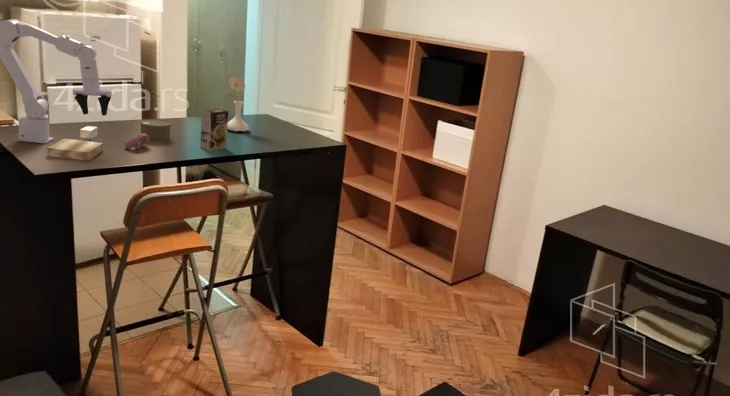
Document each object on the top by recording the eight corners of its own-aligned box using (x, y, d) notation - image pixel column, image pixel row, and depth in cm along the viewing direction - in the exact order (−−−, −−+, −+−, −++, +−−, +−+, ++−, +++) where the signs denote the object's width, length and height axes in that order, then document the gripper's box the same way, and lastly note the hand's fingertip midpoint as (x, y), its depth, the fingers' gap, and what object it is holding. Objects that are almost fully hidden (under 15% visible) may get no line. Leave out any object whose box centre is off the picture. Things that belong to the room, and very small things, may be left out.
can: (175, 141, 246) (176, 125, 244) (148, 143, 238) (149, 126, 236) (161, 134, 254) (161, 118, 252) (134, 135, 245) (135, 119, 243)
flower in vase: (253, 132, 281) (258, 80, 273) (236, 134, 271) (240, 80, 263) (234, 125, 287) (237, 75, 279) (217, 128, 278) (220, 75, 270)
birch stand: (47, 156, 204) (47, 147, 203) (64, 146, 218) (64, 138, 217) (89, 160, 206) (88, 152, 205) (103, 150, 219) (103, 143, 218)
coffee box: (210, 151, 239) (212, 112, 233) (199, 147, 242) (201, 109, 236) (226, 148, 246) (229, 110, 241) (215, 144, 249) (218, 107, 244)
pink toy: (132, 154, 225) (139, 140, 223) (122, 147, 225) (130, 132, 223) (146, 149, 235) (153, 135, 232) (137, 142, 235) (144, 128, 232)
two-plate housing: (80, 145, 222) (80, 129, 220) (87, 140, 229) (87, 125, 227) (91, 146, 223) (90, 131, 221) (97, 141, 229) (97, 127, 227)
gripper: (114, 78, 220) (118, 113, 225) (78, 76, 222) (83, 111, 227) (103, 80, 214) (108, 117, 219) (67, 78, 216) (72, 115, 220)
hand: (95, 114), depth 222 cm, fingers open, 7 cm apart
